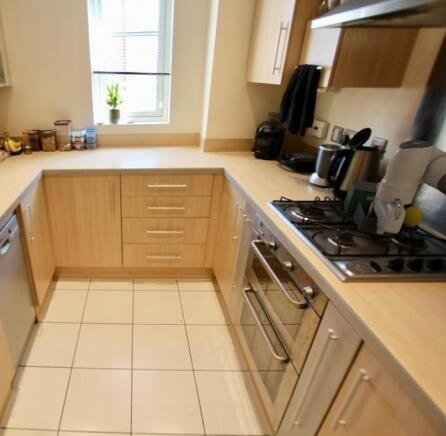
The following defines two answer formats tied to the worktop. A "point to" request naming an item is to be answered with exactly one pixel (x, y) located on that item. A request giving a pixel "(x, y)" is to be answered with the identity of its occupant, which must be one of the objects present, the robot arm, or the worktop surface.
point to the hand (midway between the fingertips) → (378, 232)
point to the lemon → (412, 216)
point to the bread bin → (359, 195)
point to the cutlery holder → (367, 218)
